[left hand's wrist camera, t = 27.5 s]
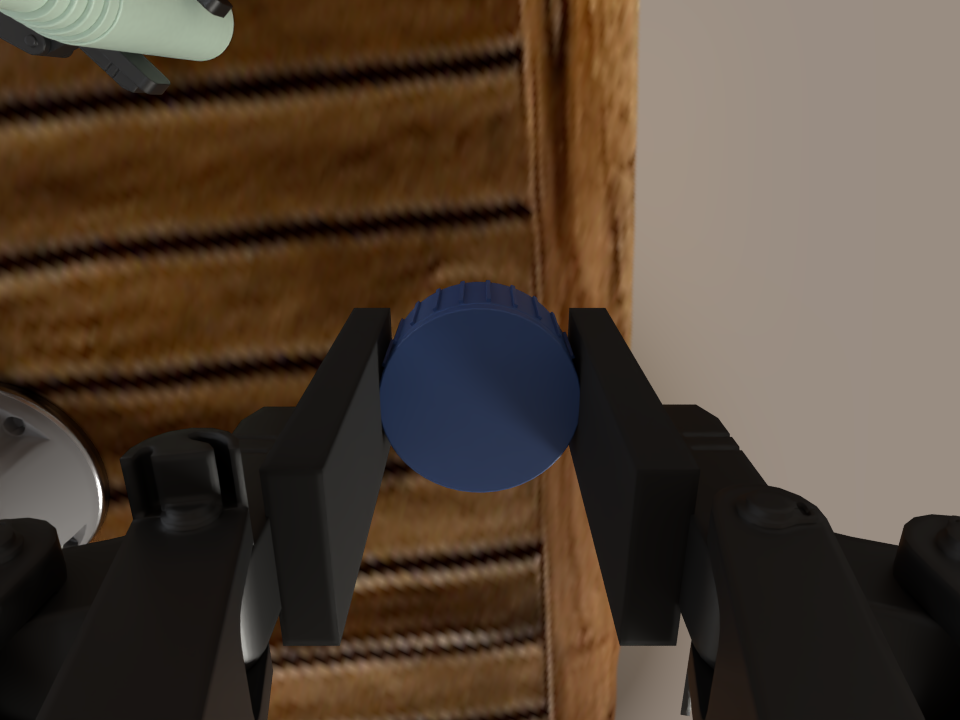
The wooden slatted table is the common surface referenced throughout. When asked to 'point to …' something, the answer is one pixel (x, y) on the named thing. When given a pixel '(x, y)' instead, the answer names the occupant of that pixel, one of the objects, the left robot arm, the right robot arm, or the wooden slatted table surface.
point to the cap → (479, 388)
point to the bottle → (128, 25)
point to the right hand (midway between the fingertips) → (189, 48)
